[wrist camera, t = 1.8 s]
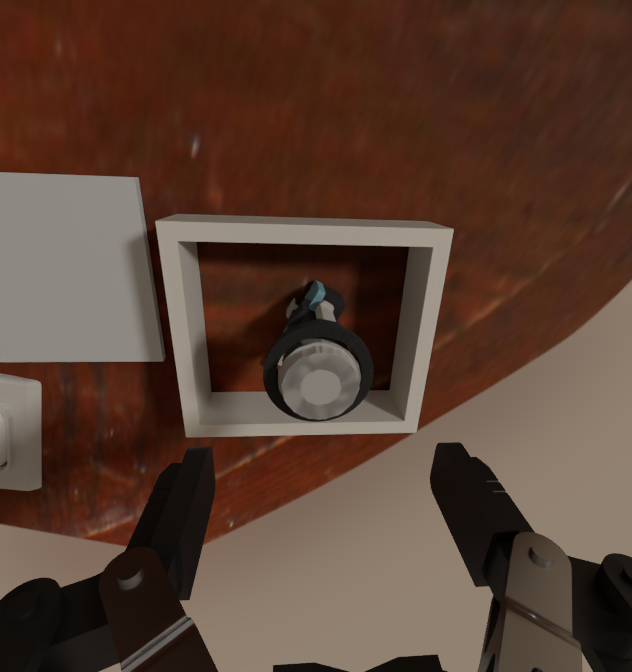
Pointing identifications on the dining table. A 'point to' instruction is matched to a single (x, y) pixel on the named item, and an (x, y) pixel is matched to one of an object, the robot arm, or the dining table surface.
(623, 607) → the robot arm
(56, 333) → the pad
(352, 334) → the push button
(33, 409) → the light switch
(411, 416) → the grey rectangular frame
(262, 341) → the dining table surface
